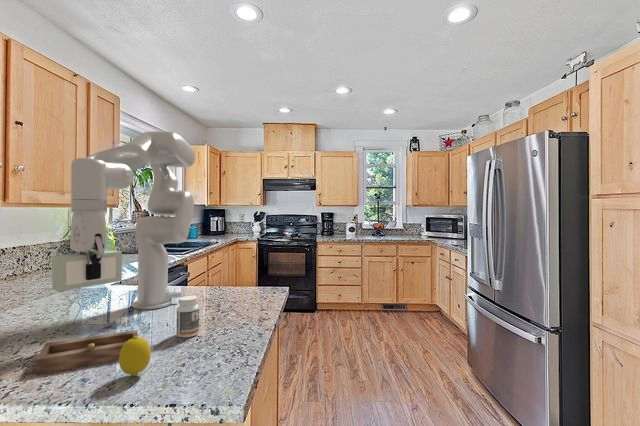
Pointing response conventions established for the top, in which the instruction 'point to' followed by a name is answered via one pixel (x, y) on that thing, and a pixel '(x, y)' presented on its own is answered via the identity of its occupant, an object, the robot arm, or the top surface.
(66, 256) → the frame
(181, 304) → the pill bottle
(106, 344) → the wooden tray
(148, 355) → the lemon
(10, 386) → the top surface
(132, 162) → the robot arm
